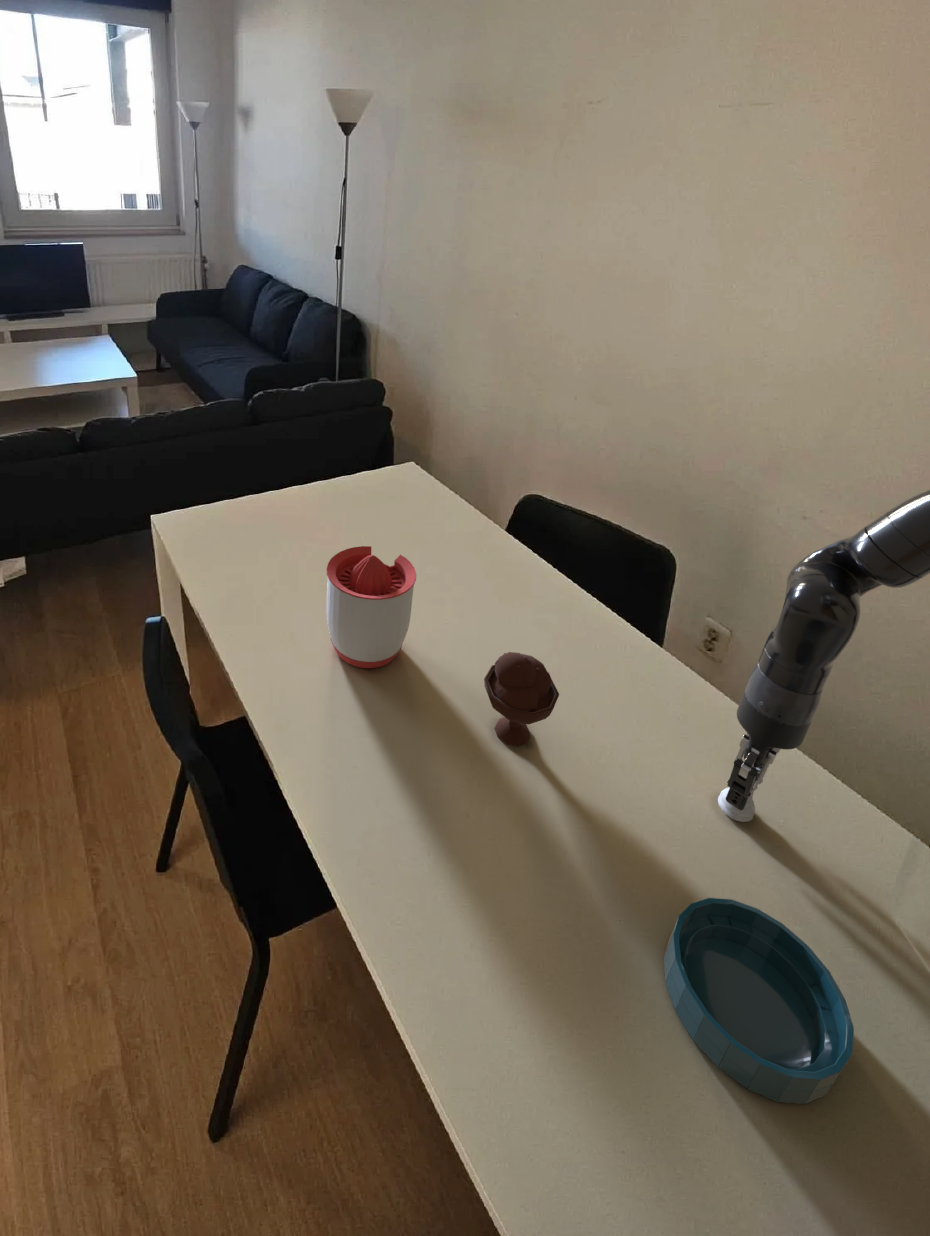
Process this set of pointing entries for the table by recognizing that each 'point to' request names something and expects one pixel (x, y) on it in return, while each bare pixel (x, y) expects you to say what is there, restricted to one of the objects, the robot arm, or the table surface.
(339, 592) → the citrus juicer
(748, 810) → the rook chess piece
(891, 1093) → the table surface
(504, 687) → the ice cream bowl
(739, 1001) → the shallow round dish
